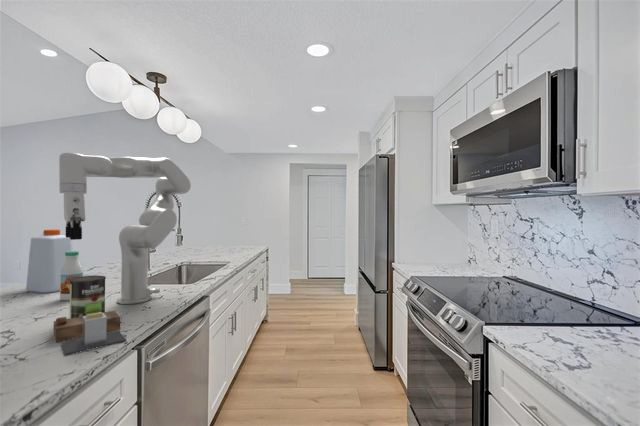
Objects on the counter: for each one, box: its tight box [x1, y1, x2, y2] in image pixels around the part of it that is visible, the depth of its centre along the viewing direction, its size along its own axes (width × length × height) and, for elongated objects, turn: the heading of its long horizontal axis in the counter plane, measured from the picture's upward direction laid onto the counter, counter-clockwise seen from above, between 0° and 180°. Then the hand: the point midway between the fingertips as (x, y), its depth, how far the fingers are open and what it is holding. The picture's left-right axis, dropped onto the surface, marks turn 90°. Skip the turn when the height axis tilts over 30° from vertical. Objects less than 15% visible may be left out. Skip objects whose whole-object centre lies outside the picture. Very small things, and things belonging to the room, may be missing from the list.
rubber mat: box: [61, 330, 127, 357], centre depth 93 cm, size 14×9×1 cm, turn 133°
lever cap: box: [81, 312, 107, 346], centre depth 93 cm, size 5×5×8 cm
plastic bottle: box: [25, 228, 74, 294], centre depth 152 cm, size 15×15×28 cm
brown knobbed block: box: [53, 310, 121, 343], centre depth 101 cm, size 16×8×6 cm, turn 133°
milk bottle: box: [59, 250, 84, 301], centre depth 137 cm, size 8×8×20 cm
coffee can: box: [69, 275, 106, 319], centre depth 113 cm, size 10×10×14 cm
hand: (73, 238), depth 113 cm, fingers open, 9 cm apart
